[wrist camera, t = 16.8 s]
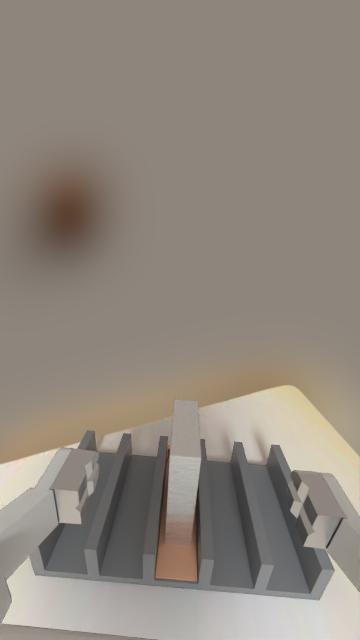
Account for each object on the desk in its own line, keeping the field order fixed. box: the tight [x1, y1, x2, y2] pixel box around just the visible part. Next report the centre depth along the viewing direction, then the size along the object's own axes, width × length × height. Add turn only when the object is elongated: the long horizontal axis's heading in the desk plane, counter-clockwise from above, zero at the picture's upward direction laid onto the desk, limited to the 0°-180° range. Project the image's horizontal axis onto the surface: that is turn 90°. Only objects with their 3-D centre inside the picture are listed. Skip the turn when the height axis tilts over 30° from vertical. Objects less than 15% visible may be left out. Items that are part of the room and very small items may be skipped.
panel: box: [165, 399, 201, 546], centre depth 27 cm, size 3×8×14 cm, turn 178°
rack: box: [29, 431, 335, 600], centre depth 30 cm, size 30×15×6 cm, turn 88°
